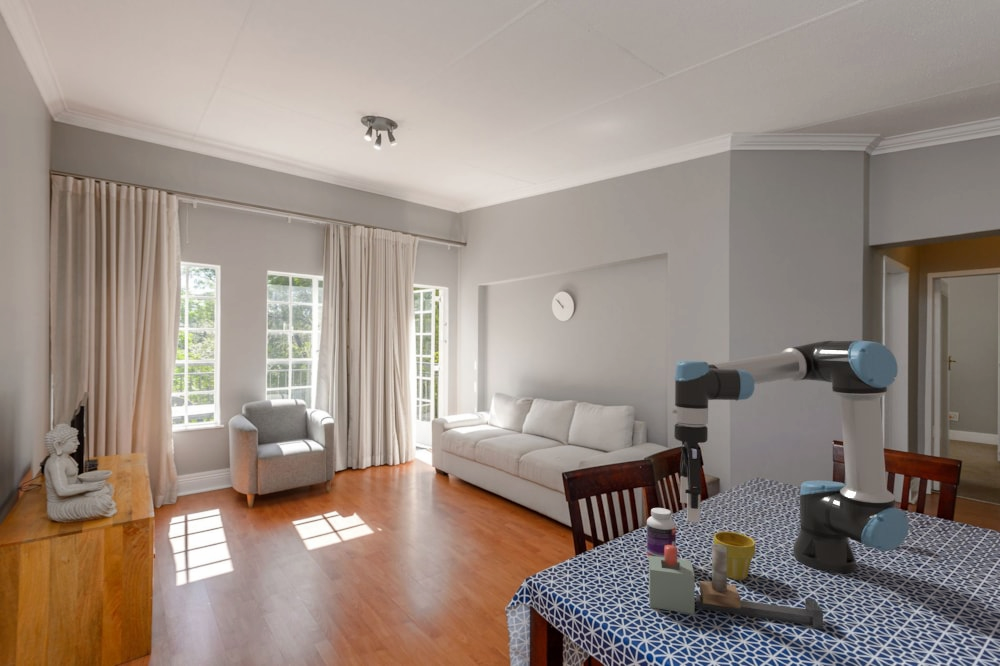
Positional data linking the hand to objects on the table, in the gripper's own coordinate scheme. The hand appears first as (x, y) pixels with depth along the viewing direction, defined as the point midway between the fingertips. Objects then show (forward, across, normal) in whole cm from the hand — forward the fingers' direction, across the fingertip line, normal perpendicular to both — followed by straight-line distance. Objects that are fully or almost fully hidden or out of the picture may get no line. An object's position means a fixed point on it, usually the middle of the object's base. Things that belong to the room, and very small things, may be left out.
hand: (689, 511), depth 118 cm
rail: (+22, 0, +14) cm, 26 cm away
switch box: (+23, 0, -4) cm, 23 cm away
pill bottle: (+23, -24, -5) cm, 33 cm away
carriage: (+20, 0, +7) cm, 21 cm away
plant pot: (+22, -20, +14) cm, 34 cm away
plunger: (+13, 0, -4) cm, 14 cm away
